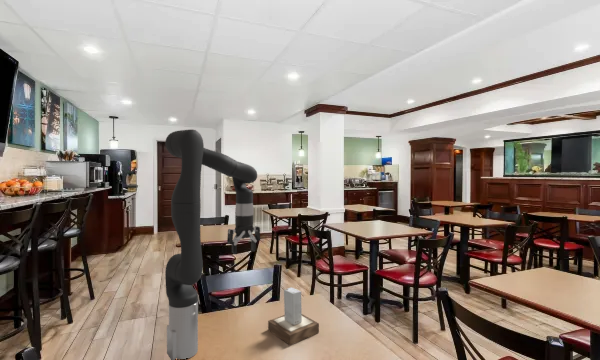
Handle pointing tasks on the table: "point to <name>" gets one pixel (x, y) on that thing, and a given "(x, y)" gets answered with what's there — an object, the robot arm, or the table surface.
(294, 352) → the table surface
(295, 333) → the walnut stand
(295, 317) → the skincare box
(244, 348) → the table surface
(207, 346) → the table surface
